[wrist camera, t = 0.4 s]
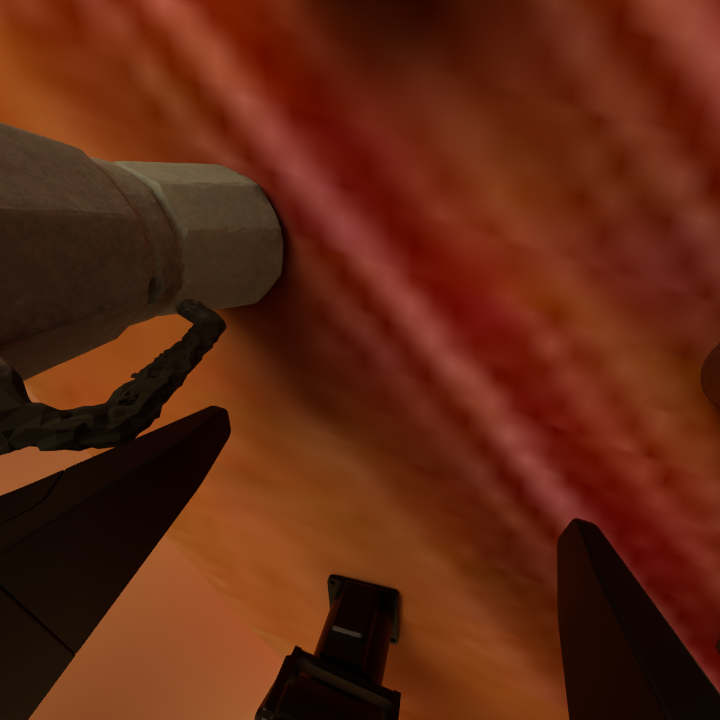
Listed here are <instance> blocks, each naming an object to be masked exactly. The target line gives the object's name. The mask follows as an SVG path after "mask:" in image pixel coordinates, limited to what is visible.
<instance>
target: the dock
mask: <svg viewBox="0 0 720 720" xmlns="http://www.w3.org/2000/svg"><path fill="white" fill-rule="evenodd" d="M716 648H717V649H718V651H719V653H720V639H719V641H718V643H717V646H716Z"/></svg>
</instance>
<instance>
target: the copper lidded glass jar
mask: <svg viewBox="0 0 720 720" xmlns="http://www.w3.org/2000/svg"><path fill="white" fill-rule="evenodd" d="M701 384H702V387H703V390H704V391H705V393H706V395H707V396H708V397H709V399H711V400H712V401H713V402H714V403H715V404H717V405H718V406H720V343H719V344H718V345H717V346H716V347H715V348H714V349H713V350H712V351H711V353H710V354H709V355H708V357H707V358H706V360H705V362H704V365H703V367H702V371H701Z"/></svg>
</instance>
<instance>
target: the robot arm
mask: <svg viewBox="0 0 720 720" xmlns="http://www.w3.org/2000/svg"><path fill="white" fill-rule="evenodd" d="M230 433H231V427H230V421H229V415H228V411H227V410H226V409H224V408H221V407H218V406H210V407H207V408H205V409H203V410H200V411H198V412H196V413H193V414H191V415H189V416H187V417H184V418H182V419H180V420H177V421H175V422H173V423H170V424H168V425H166V426H163V427H161V428H159V429H157V430H154V431H152V432H150V433H147V434H145V435H143V436H140V437H138V438H136V439H133V440H131V441H129V442H127V443H124V444H122V445H120V446H117V447H115V448H113V449H110V450H108V451H106V452H103V453H101V454H99V455H97V456H94V457H92V458H90V459H87V460H85V461H83V462H80V463H78V464H76V465H73V466H71V467H69V468H67V469H65V471H64V470H62V471H59V472H57V473H55V474H52V475H50V476H48V477H46V478H43V479H41V480H39V481H36V482H34V483H31V484H29V485H26V486H24V487H22V488H19V489H17V490H14V491H12V492H9V493H6V494H4V495H1V496H0V720H28V719H29V718H30V716H31V715H32V714H33V712H34V711H35V710H36V708H37V707H38V705H39V704H40V703H41V701H42V700H43V698H44V697H45V696H46V695H47V693H48V692H49V691H50V689H51V688H52V686H53V685H54V684H55V682H56V681H57V680H58V678H59V677H60V676H61V674H62V673H63V672H64V670H65V669H66V668H67V666H68V665H69V663H70V662H71V661H72V659H73V658H74V657H75V653H77V652H78V651H79V649H80V648H81V647H82V645H83V644H84V643H85V641H86V640H87V639H88V637H89V636H90V635H91V633H92V632H93V630H94V629H95V628H96V626H97V625H98V624H99V622H100V621H101V619H102V618H103V617H104V616H105V614H106V613H107V611H108V610H109V609H110V607H111V606H112V605H113V603H114V602H115V601H116V599H117V598H118V597H119V595H120V593H121V592H122V591H123V590H124V588H125V587H126V586H127V584H128V583H129V581H130V580H131V579H132V578H133V576H134V575H135V574H136V572H137V571H138V569H139V568H140V567H141V565H142V564H143V563H144V561H145V560H146V558H147V557H148V556H149V555H150V553H151V552H152V550H153V549H154V548H155V546H156V545H157V544H158V542H159V541H160V540H161V538H162V537H163V536H164V534H165V533H166V531H167V530H168V529H169V527H170V526H171V525H172V523H173V522H174V521H175V519H176V518H177V517H178V515H179V514H180V512H181V511H182V510H183V508H184V507H185V506H186V504H187V503H188V502H189V500H190V499H191V498H192V496H193V495H194V493H195V492H196V491H197V489H198V488H199V486H200V485H201V483H202V482H203V480H204V479H205V477H206V475H207V474H208V472H209V470H210V469H211V467H212V465H213V464H214V462H215V460H216V459H217V457H218V455H219V454H220V452H221V450H222V449H223V447H224V445H225V443H226V442H227V440H228V438H229V436H230ZM327 582H328V592H329V602H330V611H329V614H328V616H327V619H326V622H325V625H324V628H323V630H322V633H321V636H320V639H319V641H318V644H317V647H316V650H315V652H314V655H312V654H310V653H308V652H305V651H303V650H302V648H300V647H298V646H295V648H294V650H293V652H292V654H291V655H288V656H286V657H285V660H284V662H283V664H282V667H281V669H280V671H279V674H278V676H277V678H276V680H275V682H274V684H273V685H272V687H271V688H270V690H269V692H268V694H267V695H266V697H265V698H264V700H263V702H262V704H261V705H260V707H259V708H258V710H257V712H256V715H255V720H398V718H399V708H400V698H401V693H400V692H398V691H396V690H394V691H392V690H390V689H387V688H385V687H383V686H382V680H383V675H384V670H385V664H386V659H387V654H388V648H389V643H392V644H397V643H398V640H399V594H398V592H397V591H396V590H394V589H390V588H386V587H382V586H378V585H374V584H370V583H365V582H361V581H357V580H353V579H349V578H345V577H341V576H337V575H330V576H329V578H328V581H327ZM557 604H558V623H559V633H560V642H561V651H562V659H563V668H564V677H565V685H566V694H567V703H568V711H569V720H720V693H719V692H718V691H717V689H716V688H715V686H714V685H713V684H712V682H711V681H710V680H709V678H708V677H707V676H706V674H705V673H704V671H703V670H702V669H701V667H700V666H699V665H698V663H697V662H696V660H695V659H694V658H693V656H692V655H691V654H690V652H689V651H688V649H687V648H686V647H685V645H684V644H683V643H682V641H681V640H680V639H679V637H678V636H677V634H676V633H675V632H674V630H673V629H672V628H671V626H670V625H669V623H668V622H667V621H666V619H665V618H664V617H663V615H662V614H661V612H660V611H659V610H658V608H657V607H656V606H655V604H654V603H653V602H652V600H651V599H650V597H649V596H648V595H647V593H646V592H645V591H644V589H643V588H642V586H641V585H640V584H639V582H638V581H637V580H636V578H635V577H634V575H633V574H632V573H631V571H630V570H629V569H628V567H627V566H626V564H625V563H624V562H623V560H622V559H621V558H620V556H619V555H618V554H617V552H616V551H615V549H614V548H613V547H612V545H611V544H610V543H609V541H608V540H607V538H606V537H605V536H604V534H603V533H602V532H601V530H600V529H599V528H598V527H597V526H596V525H595V524H594V523H591V522H588V521H585V520H582V519H579V518H575V519H573V520H572V521H571V522H570V523H569V525H568V526H567V527H566V529H565V530H564V531H563V532H562V534H561V535H560V537H559V539H558V544H557Z"/></svg>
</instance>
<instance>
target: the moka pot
mask: <svg viewBox="0 0 720 720" xmlns="http://www.w3.org/2000/svg"><path fill="white" fill-rule="evenodd" d="M282 264H283V239H282V233H281V227H280V224H279V220H278V218H277V216H276V214H275V212H274V210H273V208H272V206H271V204H270V203H269V201H268V199H267V197H266V196H265V194H264V193H263V191H262V190H261V188H260V186H259V185H258V184H256V183H255V182H254V181H252V180H251V179H249V178H247V177H246V176H243V175H241V174H239V173H237V172H235V171H233V170H231V169H230V168H227V167H224V166H221V165H216V164H194V163H159V162H134V161H117V162H109V161H105V160H102V159H97V158H93V157H88V156H87V155H86V154H85V153H84V152H83V151H82V150H80V149H78V148H76V147H74V146H71V145H68V144H65V143H62V142H59V141H56V140H53V139H50V138H47V137H44V136H41V135H38V134H35V133H32V132H29V131H26V130H23V129H20V128H16V127H13V126H10V125H7V124H4V123H1V122H0V455H2V454H7V453H10V452H12V451H15V450H20V449H22V448H25V447H28V446H35V447H38V448H39V450H40V451H57V450H74V451H81V450H85V449H88V448H91V447H92V448H96V449H102V448H110V447H117V446H120V445H122V444H124V443H127V442H129V441H131V440H133V439H135V438H136V437H137V436H138V434H139V433H141V432H142V431H144V430H145V429H147V428H148V427H150V426H151V424H152V423H153V421H154V420H155V419H157V418H159V417H160V414H161V409H162V405H163V404H165V403H166V402H167V401H168V399H169V398H170V397H171V395H172V394H173V393H174V392H175V391H176V389H177V388H179V387H180V386H182V384H183V382H184V380H185V379H186V376H187V374H189V373H190V372H191V371H192V370H193V369H194V368H195V367H196V365H197V364H198V363H199V362H200V361H201V360H202V357H203V355H204V354H205V353H207V352H208V351H209V350H210V349H211V348H212V347H213V344H214V343H215V342H217V340H218V338H219V336H220V335H221V334H222V333H223V332H224V330H225V329H226V327H227V326H226V324H225V322H224V320H223V319H222V318H221V317H220V316H219V315H218V314H217V313H216V312H214V311H213V310H218V309H224V308H231V307H237V306H243V305H249V304H255V303H257V302H258V301H259V300H260V299H261V298H262V297H263V296H264V295H265V294H266V293H267V292H268V291H269V290H270V288H271V287H272V286H273V285H274V283H275V282H276V280H277V279H278V278H279V277H280V275H281V272H282ZM171 314H179V315H181V316H182V317H184V318H185V319H187V320H188V321H190V322H192V323H193V324H194V325H193V326H192V327H191V328H190V329H189V330H188V332H187V333H186V334H185V335H184V336H183V337H182V341H179V342H176V343H175V344H174V345H173V346H172V347H171V348H170V349H167V350H164V353H160V355H159V357H157V358H155V360H154V362H152V363H151V364H149V365H147V366H146V367H145V368H144V369H141V370H140V372H139V373H138V374H137V373H134V374H132V375H131V377H132V378H136V379H134V380H132V381H130V382H127V383H125V384H123V385H122V386H121V387H119V388H118V389H117V390H115V391H114V392H113V394H112V395H111V397H110V398H109V400H108V401H107V402H106V403H104V404H99V405H95V406H83V407H79V408H75V409H70V410H58V409H55V408H53V407H50V406H48V405H45V404H43V403H32V402H31V401H30V399H29V397H28V395H27V392H26V388H25V385H24V382H23V381H24V380H26V379H28V378H31V377H33V376H35V375H37V374H39V373H41V372H43V371H45V370H47V369H50V368H52V367H54V366H56V365H59V364H61V363H63V362H66V361H68V360H70V359H73V358H75V357H77V356H79V355H82V354H84V353H86V352H88V351H90V350H93V349H95V348H97V347H99V346H101V345H104V344H106V343H108V342H110V341H112V340H114V339H117V338H118V337H119V335H120V334H121V333H122V332H123V331H124V330H125V329H126V328H127V327H128V326H130V325H134V324H137V323H140V322H143V321H146V320H149V319H151V318H154V317H155V316H162V315H171Z"/></svg>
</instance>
